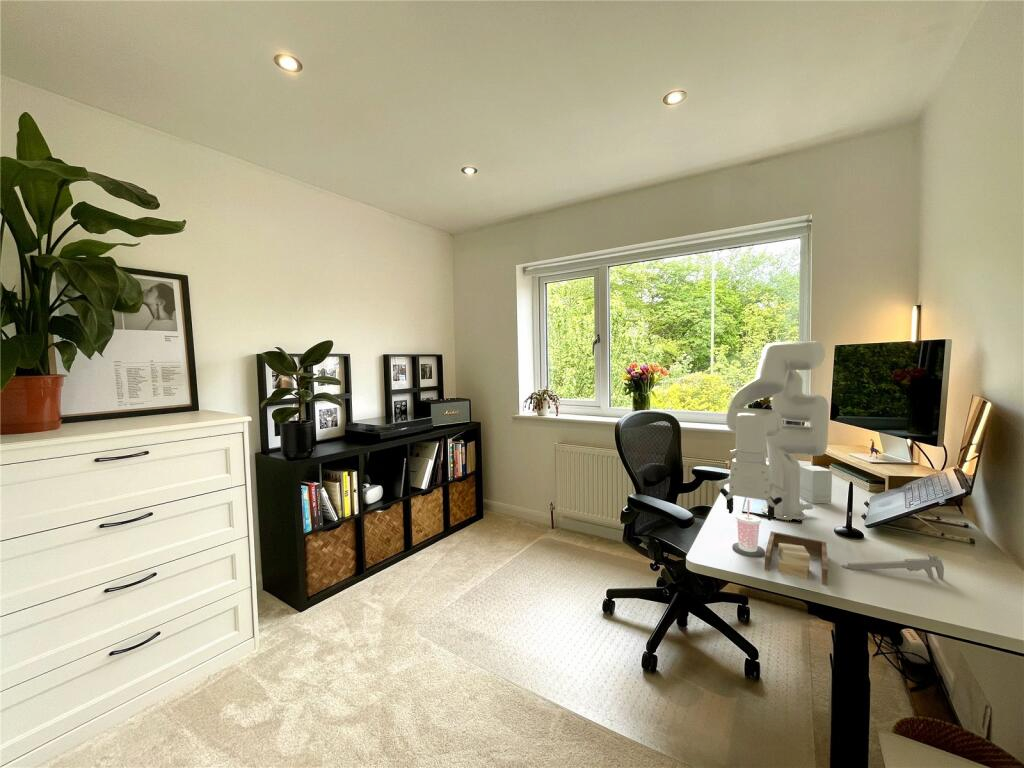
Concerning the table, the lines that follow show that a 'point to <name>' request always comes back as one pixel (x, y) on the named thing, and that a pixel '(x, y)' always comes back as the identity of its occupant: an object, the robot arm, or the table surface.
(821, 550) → the rack
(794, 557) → the offcut upper
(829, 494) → the supplement box
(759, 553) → the coaster
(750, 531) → the beverage cup
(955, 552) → the table surface
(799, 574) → the offcut lower
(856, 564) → the caliper
